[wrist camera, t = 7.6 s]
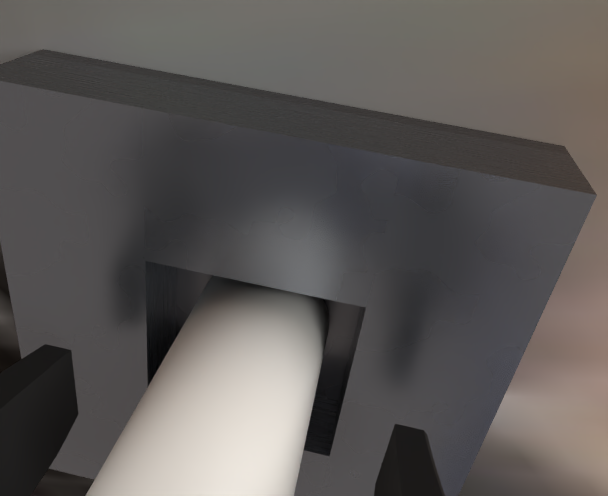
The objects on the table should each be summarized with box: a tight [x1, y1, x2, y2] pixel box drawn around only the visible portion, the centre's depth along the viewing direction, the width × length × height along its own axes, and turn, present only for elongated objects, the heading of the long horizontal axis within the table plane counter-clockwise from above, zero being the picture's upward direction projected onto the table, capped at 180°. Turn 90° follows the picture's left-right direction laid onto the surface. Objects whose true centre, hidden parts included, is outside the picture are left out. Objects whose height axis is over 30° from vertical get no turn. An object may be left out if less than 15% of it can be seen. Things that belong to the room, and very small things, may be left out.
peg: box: [86, 275, 329, 496], centre depth 12 cm, size 4×4×7 cm
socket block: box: [0, 50, 597, 496], centre depth 15 cm, size 12×12×2 cm
